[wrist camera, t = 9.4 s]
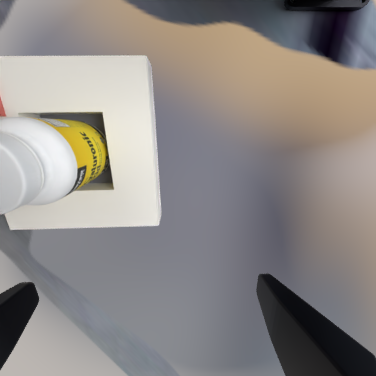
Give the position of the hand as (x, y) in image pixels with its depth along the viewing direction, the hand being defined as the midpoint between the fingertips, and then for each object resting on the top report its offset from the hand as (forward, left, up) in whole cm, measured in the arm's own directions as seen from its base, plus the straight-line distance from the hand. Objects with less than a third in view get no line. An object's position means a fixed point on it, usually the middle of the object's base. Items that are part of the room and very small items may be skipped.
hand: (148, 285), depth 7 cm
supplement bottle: (+8, -4, -12) cm, 15 cm away
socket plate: (+8, -4, -12) cm, 15 cm away
